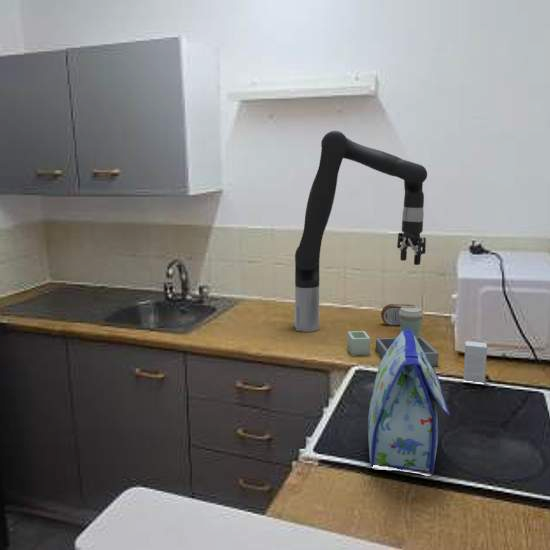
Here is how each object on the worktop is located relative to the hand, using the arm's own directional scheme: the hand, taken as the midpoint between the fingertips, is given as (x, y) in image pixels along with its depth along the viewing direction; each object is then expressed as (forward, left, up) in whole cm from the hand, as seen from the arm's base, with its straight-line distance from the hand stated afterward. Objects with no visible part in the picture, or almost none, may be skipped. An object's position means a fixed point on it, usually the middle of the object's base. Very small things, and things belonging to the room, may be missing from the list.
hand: (410, 262), depth 208 cm
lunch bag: (-28, -86, -26) cm, 94 cm away
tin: (-1, +5, -26) cm, 27 cm away
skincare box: (+4, -51, -26) cm, 58 cm away
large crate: (-10, -30, -26) cm, 41 cm away
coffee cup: (-3, -13, -26) cm, 30 cm away
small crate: (-24, -22, -26) cm, 42 cm away
